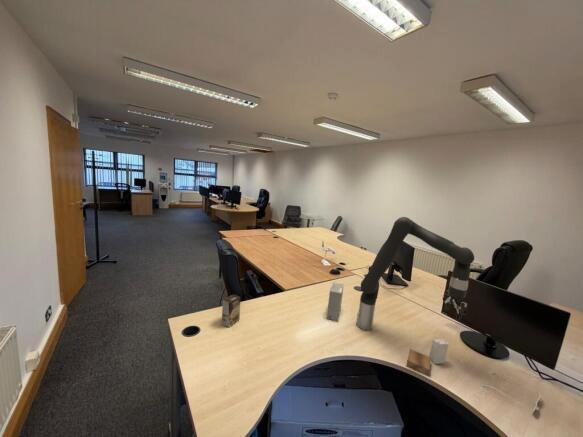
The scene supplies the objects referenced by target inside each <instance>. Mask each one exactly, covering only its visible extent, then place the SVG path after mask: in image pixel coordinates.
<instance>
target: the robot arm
mask: <svg viewBox="0 0 583 437" xmlns="http://www.w3.org/2000/svg"><path fill="white" fill-rule="evenodd" d="M408 235H411V236H413V237H415V238H417V239H419V240H421V241H423V242H424V243H426V245H428V246H430V247H431V248H433V249H435V250H437V251H439V252H441V253H443V254H446V255H447V256H448V257H450V258H452V259H454V266H453V270H452V274H451V277H450V280H449V285H448V288H447V289H448V290H444V292H443V296H442V301H443V302H444V311H445V312H446V311H447V312H449V311H450V308H451V307H450V306H451V304H452V305H453V306H454V308H455V309H456V315H455V318H454V319H455V320H456V321H461V320H462V317H463V315H467V313H468V307H469V303H468V302H464V299H465V298H466V296H467V292H468V288H469V279H470V276H471V265H472V263H473V262H474V261H475V254H474V252H473V251H472V250H471V249H470V248H469V247H466V246H465V247H461V246H459V245H457V244H455V243H454V242H453V241H452V240H449V239H447V238H445V237H443V236H441V235H439V234H437V233H434V232H432V231H430V230H428V229H426V228H424V227H423V226H421V225H419V224H417V223H416V222H415V221H413V220H412V219H410V218H409V217H406V216H401V217H398V218H397V219H396V220H395V221H394V223H393V226H392V228H391V231H390V233H389V234H388V237H387V239H386V240H385V241H384V243H383V244H382V245H381V247H380V249H379V250H378V252H377V254H376V255H375V258H374V260H373V263H372V264H371V265H370V266H371V267H370V269H369V271H368V272H367V274H366V275H365V276H364V278H363V279H362V280H361V282H360V289H361V291H362V293H361V295H360V298H359V299H360V300H359V305H358V306H359V307H358V311H357V315H356V316H357V317H356V324H355V326H356V325H357V327H358V328H359V329H360V330H363V331H367V332H368V331H371V330H372V329H373V323H374V316H375V311H376V310H375V309H376V302H377V299H378V296H379V289H380V279H381V277H383V275H385V273H386V272H387V271H388V269H389V268H390V267H391V265H392V263H393V262H394V261H395V259H396V257H397V254H398V252H399V249H400V246H401V244H402V243H403V241H404V240H405V239H406V237H407V236H408Z"/></svg>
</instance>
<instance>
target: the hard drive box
mask: <svg viewBox="0 0 583 437" xmlns="http://www.w3.org/2000/svg"><path fill="white" fill-rule="evenodd" d="M344 286H345V284H343V283H339V282H335V281H334V282H332V285H331V287H330V290H329V294H328V304H327V310H326V311H327V312H326V319H327V318H328V320H330V319H331V320H330V321H334V320H335V322H339V318H340V314H341V309H342V301H343V293H344Z"/></svg>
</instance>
